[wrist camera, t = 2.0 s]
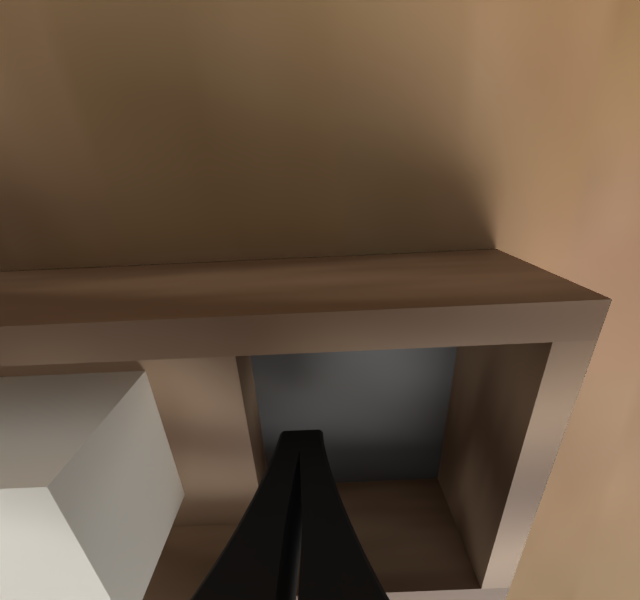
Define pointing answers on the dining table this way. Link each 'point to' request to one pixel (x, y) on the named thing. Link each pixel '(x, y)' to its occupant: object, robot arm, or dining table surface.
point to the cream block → (83, 486)
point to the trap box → (337, 393)
